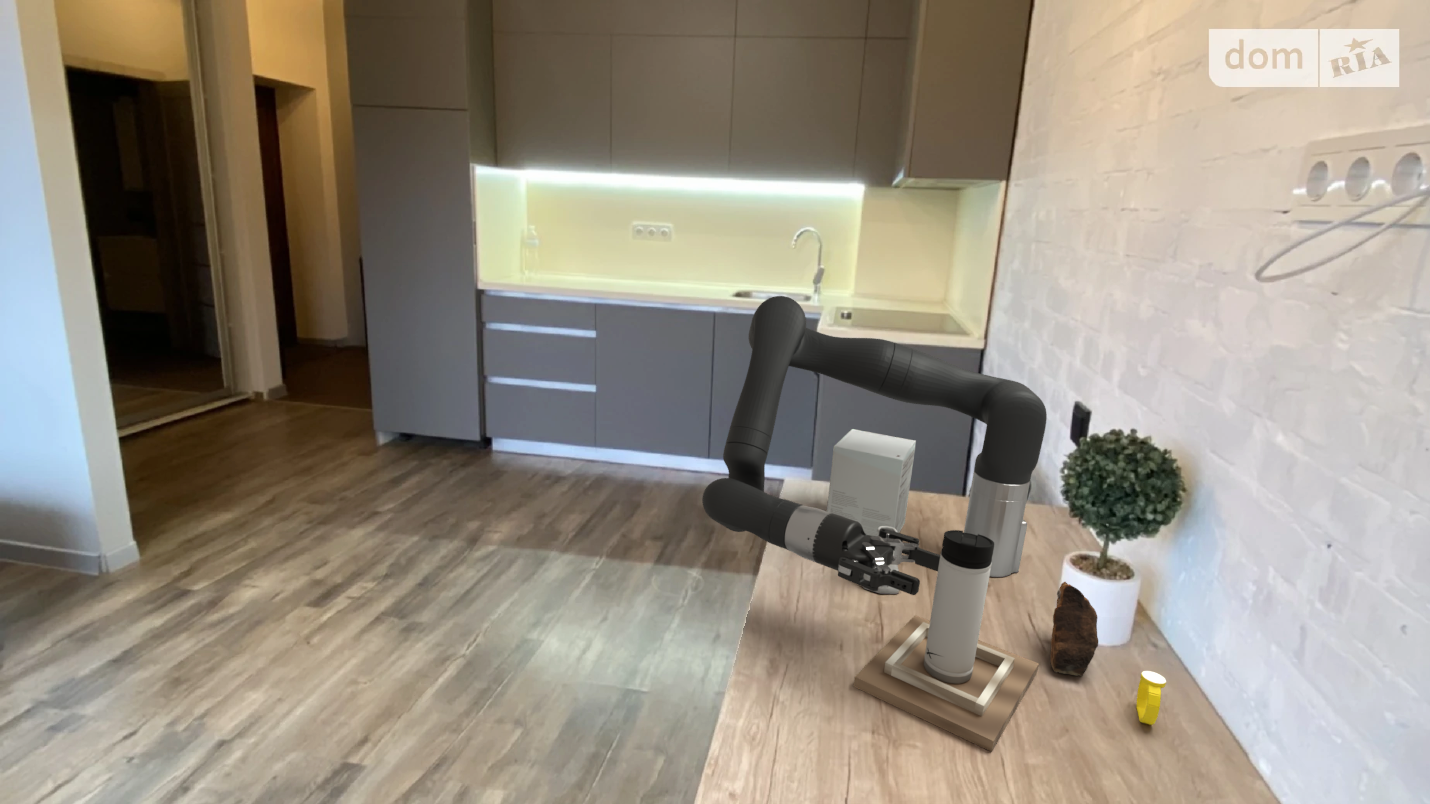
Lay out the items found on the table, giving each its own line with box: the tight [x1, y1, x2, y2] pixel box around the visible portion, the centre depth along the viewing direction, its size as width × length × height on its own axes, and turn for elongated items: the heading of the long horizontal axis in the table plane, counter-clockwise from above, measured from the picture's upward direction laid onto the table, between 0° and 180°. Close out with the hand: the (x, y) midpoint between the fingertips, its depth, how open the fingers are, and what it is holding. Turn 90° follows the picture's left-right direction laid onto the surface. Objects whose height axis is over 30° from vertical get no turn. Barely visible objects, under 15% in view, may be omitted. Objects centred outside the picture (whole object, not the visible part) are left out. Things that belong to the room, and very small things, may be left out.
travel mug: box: [924, 529, 995, 684], centre depth 97 cm, size 6×7×20 cm
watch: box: [1135, 670, 1167, 726], centre depth 95 cm, size 6×3×6 cm, turn 158°
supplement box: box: [826, 428, 917, 536], centre depth 144 cm, size 13×13×18 cm
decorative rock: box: [1050, 581, 1099, 677], centre depth 106 cm, size 12×6×11 cm, turn 154°
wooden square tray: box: [853, 614, 1040, 753], centre depth 100 cm, size 20×18×3 cm
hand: (930, 575), depth 99 cm, fingers open, 8 cm apart
